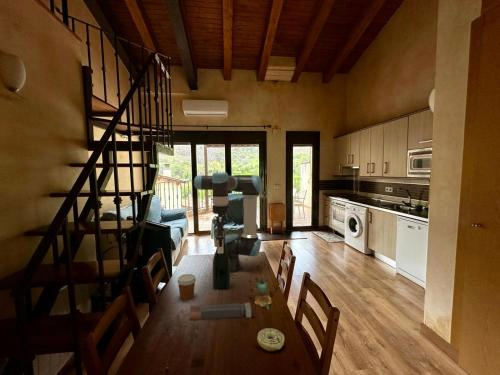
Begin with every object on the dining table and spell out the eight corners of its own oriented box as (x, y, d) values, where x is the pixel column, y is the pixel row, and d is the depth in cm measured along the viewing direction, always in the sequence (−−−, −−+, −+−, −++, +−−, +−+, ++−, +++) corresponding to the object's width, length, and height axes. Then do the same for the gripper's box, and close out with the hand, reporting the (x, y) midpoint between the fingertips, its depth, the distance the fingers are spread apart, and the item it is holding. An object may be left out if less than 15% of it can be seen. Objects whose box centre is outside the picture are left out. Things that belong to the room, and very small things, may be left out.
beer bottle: (228, 281, 149) (228, 228, 146) (231, 290, 139) (231, 233, 136) (211, 283, 146) (211, 229, 143) (213, 292, 136) (212, 234, 133)
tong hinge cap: (244, 309, 118) (244, 302, 118) (249, 309, 118) (249, 302, 118) (246, 318, 111) (246, 310, 111) (251, 318, 112) (251, 310, 111)
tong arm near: (190, 316, 112) (190, 309, 112) (244, 313, 115) (244, 306, 114) (189, 319, 110) (189, 312, 109) (245, 316, 112) (245, 309, 112)
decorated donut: (284, 355, 91) (284, 345, 91) (256, 352, 92) (256, 343, 92) (284, 335, 102) (284, 327, 101) (258, 333, 103) (258, 325, 102)
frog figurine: (253, 313, 117) (253, 282, 117) (252, 297, 135) (252, 270, 135) (273, 313, 117) (273, 281, 117) (269, 297, 135) (269, 270, 135)
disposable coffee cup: (174, 299, 128) (173, 277, 127) (189, 293, 135) (189, 272, 134) (184, 306, 122) (183, 283, 121) (199, 299, 129) (199, 277, 128)
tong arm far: (191, 313, 114) (190, 306, 114) (244, 309, 117) (244, 302, 117) (190, 316, 112) (190, 309, 112) (244, 312, 115) (244, 305, 115)
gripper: (213, 201, 128) (213, 240, 130) (211, 209, 103) (211, 257, 105) (227, 201, 129) (227, 240, 131) (228, 209, 104) (228, 257, 106)
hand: (220, 248), depth 118 cm, fingers open, 13 cm apart
